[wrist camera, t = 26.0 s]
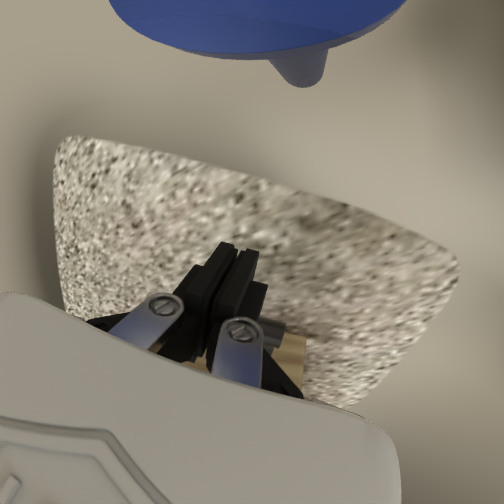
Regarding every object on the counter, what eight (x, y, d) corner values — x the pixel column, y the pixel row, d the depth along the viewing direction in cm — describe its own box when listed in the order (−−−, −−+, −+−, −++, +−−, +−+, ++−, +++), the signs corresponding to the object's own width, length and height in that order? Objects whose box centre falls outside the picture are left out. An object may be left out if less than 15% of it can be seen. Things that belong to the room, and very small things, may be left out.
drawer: (168, 249, 18) (108, 313, 12) (326, 293, 17) (324, 381, 11) (168, 388, 26) (142, 440, 20) (266, 418, 25) (252, 476, 19)
